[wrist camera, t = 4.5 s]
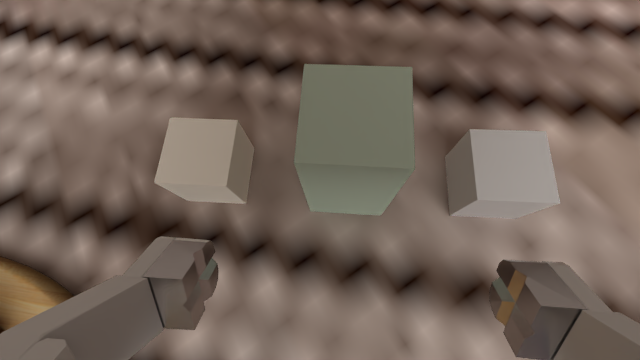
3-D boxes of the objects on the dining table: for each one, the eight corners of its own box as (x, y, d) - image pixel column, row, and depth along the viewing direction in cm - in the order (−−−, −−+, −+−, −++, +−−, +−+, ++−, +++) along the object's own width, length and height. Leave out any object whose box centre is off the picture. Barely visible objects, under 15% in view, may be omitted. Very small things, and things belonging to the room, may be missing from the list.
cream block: (254, 148, 21) (237, 119, 17) (246, 204, 20) (226, 186, 16) (199, 146, 21) (170, 117, 18) (187, 201, 20) (153, 182, 16)
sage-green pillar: (381, 150, 21) (412, 67, 12) (380, 215, 19) (415, 168, 11) (315, 147, 21) (304, 63, 13) (310, 211, 19) (294, 162, 11)
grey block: (506, 159, 20) (546, 131, 16) (514, 218, 19) (560, 203, 15) (444, 157, 20) (469, 129, 16) (449, 215, 19) (477, 199, 15)
